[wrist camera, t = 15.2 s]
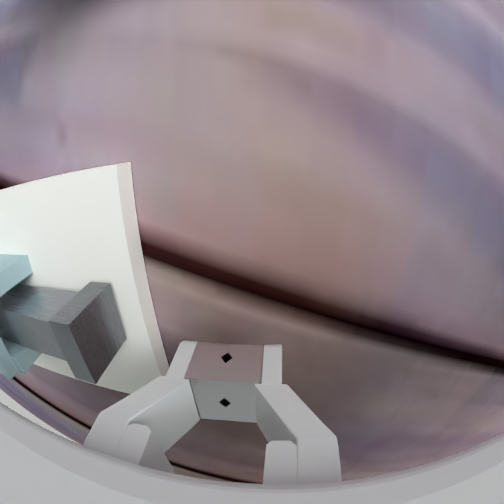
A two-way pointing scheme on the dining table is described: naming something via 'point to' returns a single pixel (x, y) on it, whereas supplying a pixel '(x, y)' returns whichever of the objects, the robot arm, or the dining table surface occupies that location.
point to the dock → (82, 264)
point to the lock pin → (65, 325)
